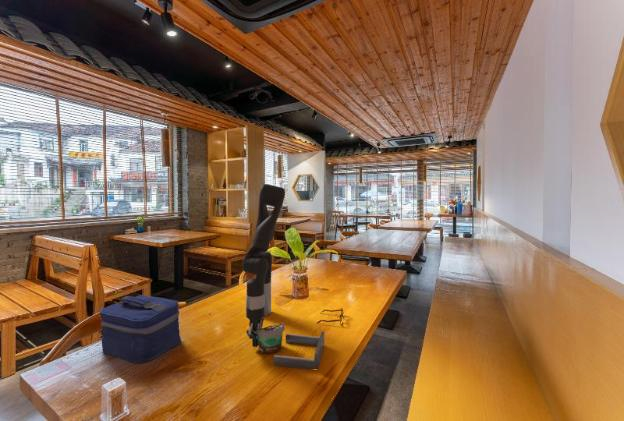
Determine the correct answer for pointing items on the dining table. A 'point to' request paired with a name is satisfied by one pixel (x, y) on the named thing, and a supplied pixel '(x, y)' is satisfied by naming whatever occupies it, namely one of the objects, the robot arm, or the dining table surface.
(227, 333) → the dining table surface
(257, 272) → the robot arm
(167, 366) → the dining table surface
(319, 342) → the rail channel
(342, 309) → the glasses
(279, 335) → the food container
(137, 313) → the lunch bag
